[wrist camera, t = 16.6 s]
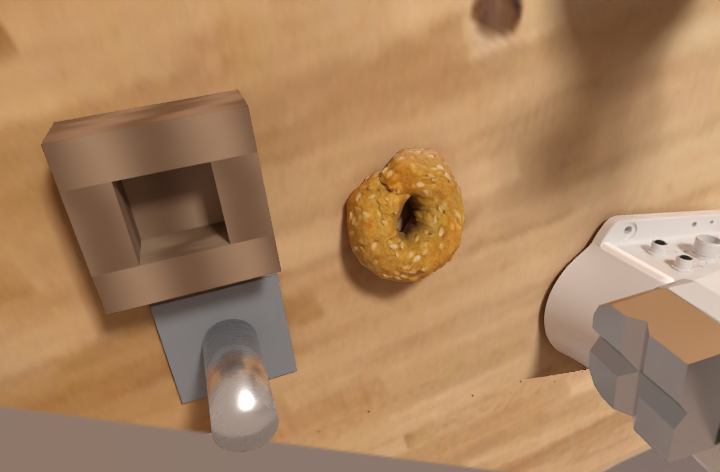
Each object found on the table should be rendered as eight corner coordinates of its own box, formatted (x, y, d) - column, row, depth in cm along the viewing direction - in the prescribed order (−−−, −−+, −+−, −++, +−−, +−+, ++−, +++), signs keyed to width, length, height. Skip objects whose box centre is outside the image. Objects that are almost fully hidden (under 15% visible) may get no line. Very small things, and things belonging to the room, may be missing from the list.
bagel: (474, 161, 49) (503, 180, 44) (424, 274, 52) (446, 302, 48) (370, 127, 44) (391, 145, 40) (322, 252, 48) (338, 281, 44)
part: (251, 312, 48) (272, 392, 39) (262, 355, 50) (283, 440, 41) (196, 327, 47) (204, 412, 38) (209, 370, 49) (219, 460, 40)
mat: (276, 273, 47) (277, 275, 47) (296, 368, 52) (296, 370, 51) (150, 304, 45) (150, 307, 45) (182, 400, 50) (182, 403, 49)
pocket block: (238, 89, 40) (247, 106, 36) (269, 241, 46) (281, 271, 41) (54, 122, 38) (40, 144, 33) (111, 278, 43) (106, 314, 39)
